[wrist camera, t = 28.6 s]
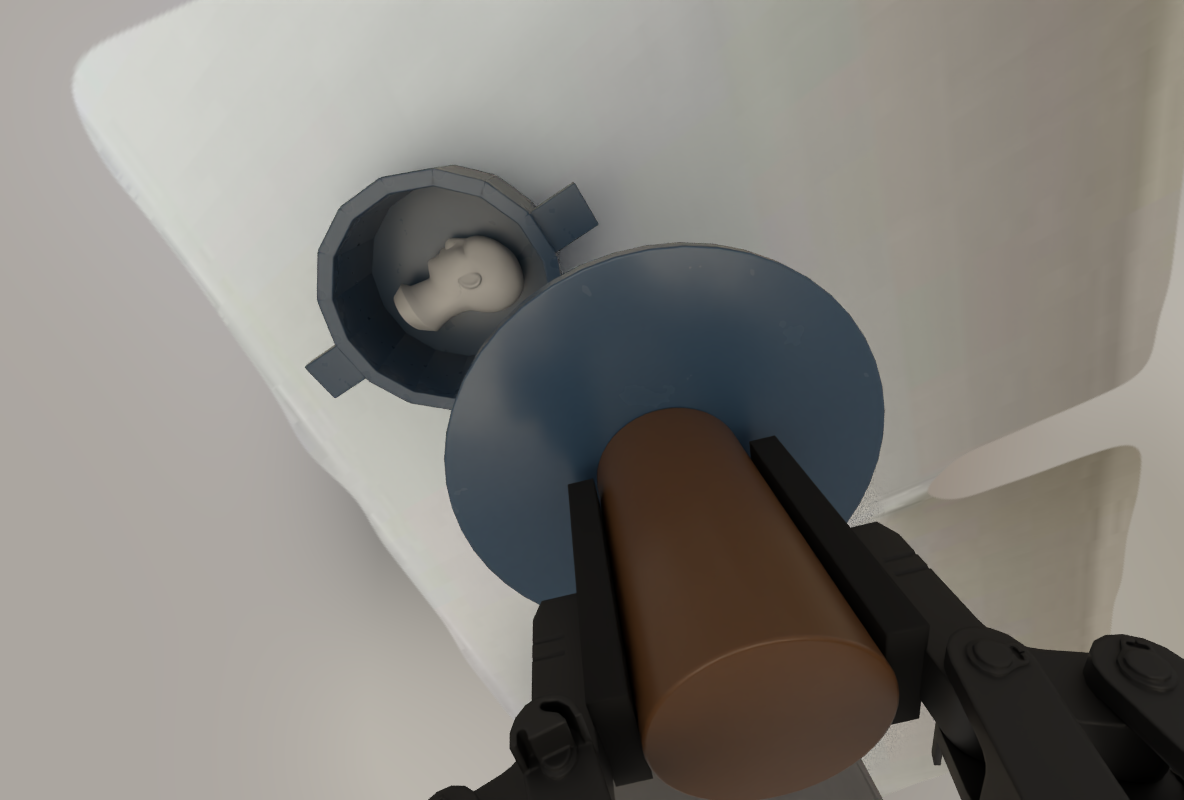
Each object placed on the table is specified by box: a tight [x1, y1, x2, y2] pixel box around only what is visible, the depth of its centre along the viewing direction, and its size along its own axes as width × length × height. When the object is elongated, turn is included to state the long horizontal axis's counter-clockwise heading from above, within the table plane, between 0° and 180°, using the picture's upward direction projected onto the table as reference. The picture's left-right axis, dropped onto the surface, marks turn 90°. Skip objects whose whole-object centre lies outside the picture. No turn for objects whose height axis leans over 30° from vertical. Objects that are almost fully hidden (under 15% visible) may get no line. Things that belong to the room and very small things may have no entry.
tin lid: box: [444, 242, 899, 800], centre depth 13 cm, size 14×14×9 cm
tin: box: [305, 165, 598, 410], centre depth 31 cm, size 13×18×8 cm
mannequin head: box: [394, 235, 524, 331], centre depth 32 cm, size 4×8×5 cm
